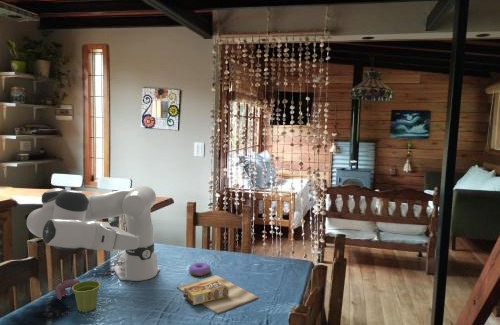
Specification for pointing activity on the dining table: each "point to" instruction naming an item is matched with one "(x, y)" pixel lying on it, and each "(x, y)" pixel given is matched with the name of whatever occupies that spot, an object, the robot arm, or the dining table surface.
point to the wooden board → (226, 303)
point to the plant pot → (86, 295)
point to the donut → (199, 269)
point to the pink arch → (63, 285)
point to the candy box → (206, 292)
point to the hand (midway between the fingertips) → (140, 238)
